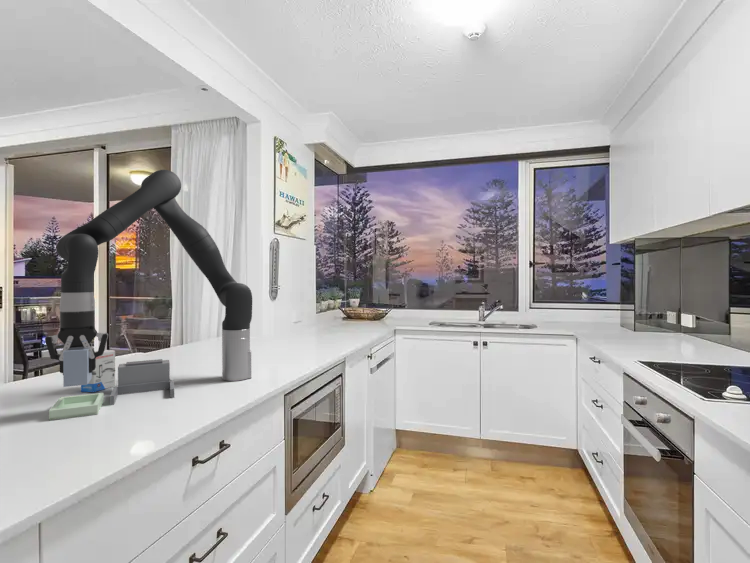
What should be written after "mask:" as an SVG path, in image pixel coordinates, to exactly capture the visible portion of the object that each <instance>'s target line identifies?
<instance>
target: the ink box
mask: <svg viewBox="0 0 750 563" xmlns="http://www.w3.org/2000/svg"><path fill="white" fill-rule="evenodd" d="M94 351H95V352H97V351H98V350H94ZM114 387H116V350H112V349H111V350H110V349H105V350H104V353H103V354H102V355H101V356H98V357H96V368H95V370H93V372H92V378H91V380H90V381H89V383H88V384H87V385H80V392H82V393H97V392H99V391H100V392H101V391H103V390H107V389H110V388H114Z"/></svg>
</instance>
